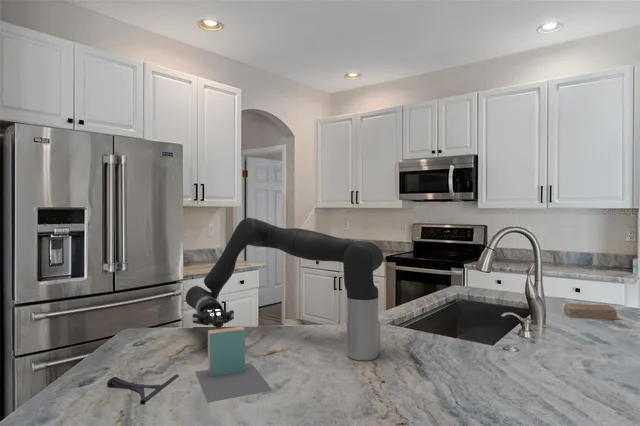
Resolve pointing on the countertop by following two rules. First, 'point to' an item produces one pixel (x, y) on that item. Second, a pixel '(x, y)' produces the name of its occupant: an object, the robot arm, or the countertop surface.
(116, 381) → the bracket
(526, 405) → the countertop surface
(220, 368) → the tile
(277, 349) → the turner
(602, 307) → the brick
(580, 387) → the countertop surface
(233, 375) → the mat
